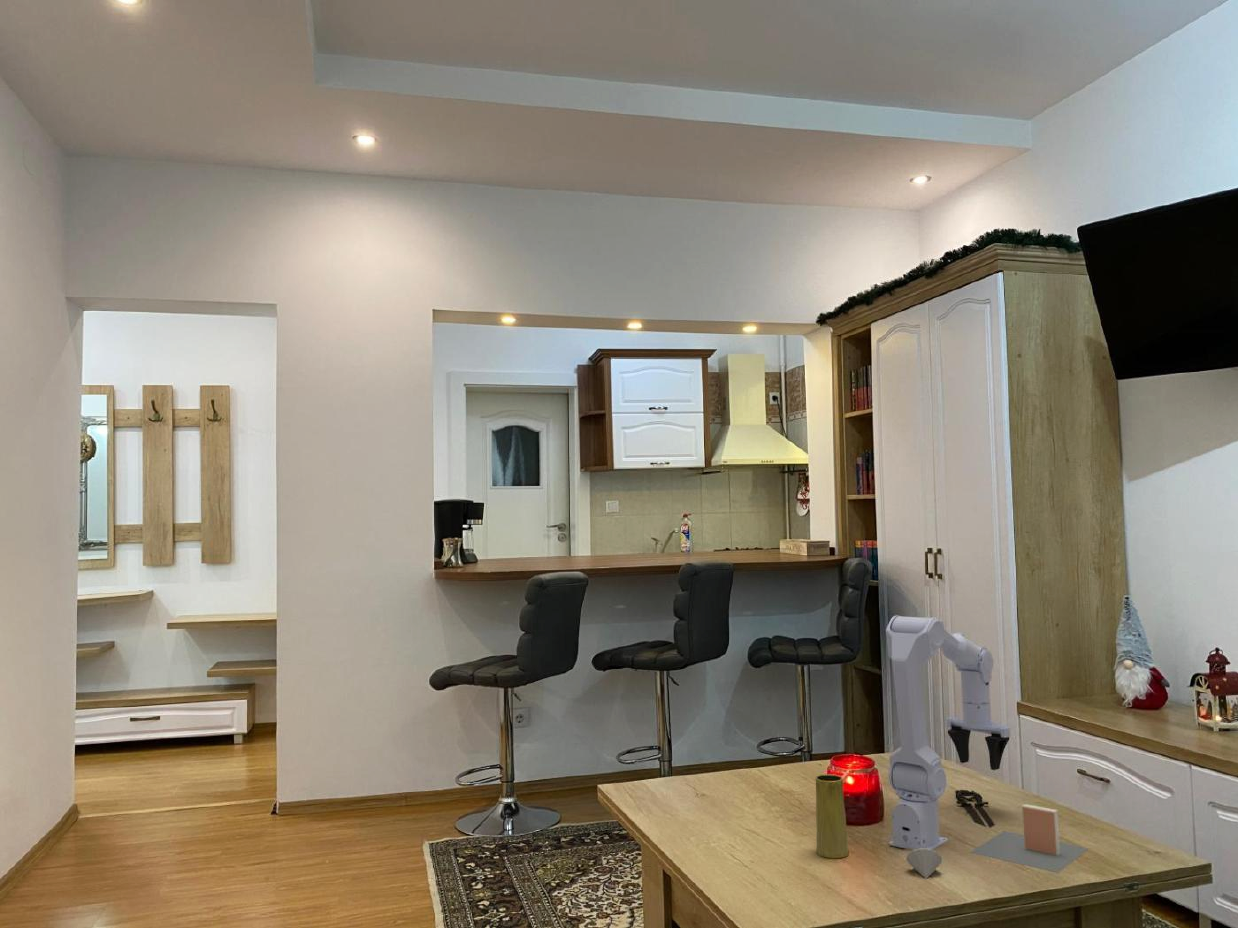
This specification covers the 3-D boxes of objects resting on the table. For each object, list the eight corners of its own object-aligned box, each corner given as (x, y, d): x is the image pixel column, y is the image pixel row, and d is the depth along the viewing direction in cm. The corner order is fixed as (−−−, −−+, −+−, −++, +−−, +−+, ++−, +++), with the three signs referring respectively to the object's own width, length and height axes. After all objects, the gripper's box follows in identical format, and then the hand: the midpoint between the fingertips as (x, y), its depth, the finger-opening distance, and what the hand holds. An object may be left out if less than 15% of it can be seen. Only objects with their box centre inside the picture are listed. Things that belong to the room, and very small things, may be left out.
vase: (825, 860, 172) (822, 783, 173) (810, 849, 178) (807, 775, 179) (854, 856, 174) (851, 779, 175) (838, 846, 180) (835, 771, 181)
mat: (1058, 874, 162) (1058, 872, 162) (969, 854, 173) (969, 851, 173) (1088, 850, 173) (1088, 848, 173) (1004, 832, 185) (1004, 830, 185)
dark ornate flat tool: (998, 833, 186) (998, 826, 186) (963, 831, 187) (963, 824, 188) (983, 796, 211) (983, 789, 211) (952, 794, 213) (952, 788, 213)
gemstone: (912, 866, 161) (909, 840, 165) (905, 885, 164) (902, 859, 168) (948, 872, 160) (944, 846, 164) (940, 890, 164) (937, 864, 168)
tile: (1057, 856, 170) (1054, 811, 170) (1024, 848, 174) (1021, 805, 175) (1060, 853, 171) (1057, 809, 172) (1027, 846, 175) (1024, 803, 176)
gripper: (1017, 704, 196) (1021, 769, 195) (959, 695, 208) (962, 756, 207) (997, 708, 192) (1001, 774, 191) (939, 699, 204) (942, 761, 203)
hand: (979, 765), depth 198 cm, fingers open, 7 cm apart
